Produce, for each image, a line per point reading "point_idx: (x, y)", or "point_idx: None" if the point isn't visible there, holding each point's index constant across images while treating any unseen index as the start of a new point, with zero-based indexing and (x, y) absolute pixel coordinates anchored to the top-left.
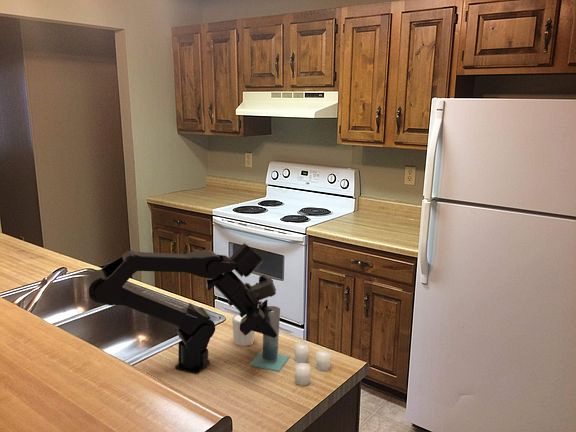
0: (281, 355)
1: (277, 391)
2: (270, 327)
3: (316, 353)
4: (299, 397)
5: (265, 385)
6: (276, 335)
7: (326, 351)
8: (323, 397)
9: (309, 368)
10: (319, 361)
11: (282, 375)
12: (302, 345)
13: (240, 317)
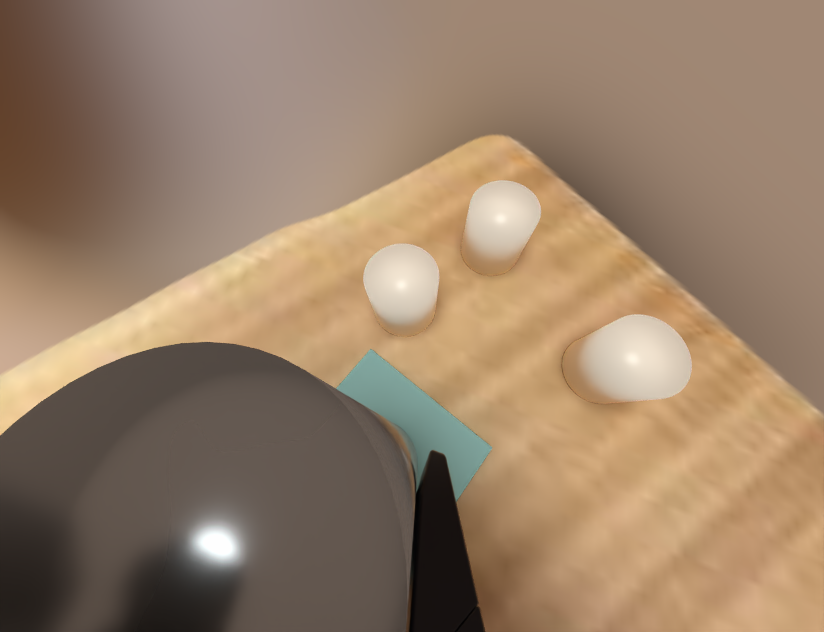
0: (351, 384)
1: (679, 524)
2: (472, 593)
3: (493, 238)
4: (731, 431)
5: (617, 573)
6: (444, 462)
7: (491, 191)
8: (725, 330)
9: (671, 328)
10: (518, 249)
11: (527, 442)
12: (399, 272)
13: None
